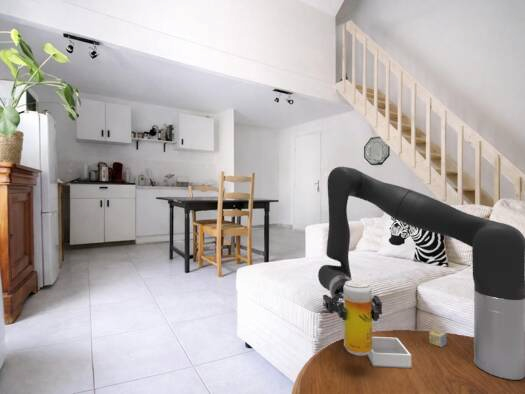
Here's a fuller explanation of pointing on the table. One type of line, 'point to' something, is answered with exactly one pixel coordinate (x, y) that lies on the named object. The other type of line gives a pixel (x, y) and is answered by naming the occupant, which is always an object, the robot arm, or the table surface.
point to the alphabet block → (437, 338)
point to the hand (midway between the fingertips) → (360, 316)
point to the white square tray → (389, 353)
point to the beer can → (358, 317)
